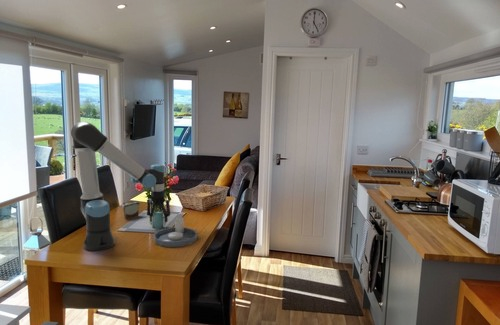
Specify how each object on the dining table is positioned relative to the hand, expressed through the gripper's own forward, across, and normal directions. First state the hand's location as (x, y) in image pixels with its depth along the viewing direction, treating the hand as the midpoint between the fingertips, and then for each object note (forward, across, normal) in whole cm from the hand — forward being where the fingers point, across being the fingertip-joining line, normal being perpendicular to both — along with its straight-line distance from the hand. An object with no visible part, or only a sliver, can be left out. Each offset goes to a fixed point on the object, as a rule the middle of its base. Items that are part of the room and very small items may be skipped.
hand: (159, 226), depth 232 cm
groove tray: (0, -16, +18) cm, 24 cm away
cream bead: (0, -16, +11) cm, 19 cm away
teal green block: (0, 0, 0) cm, 0 cm away
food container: (0, +26, -17) cm, 31 cm away
